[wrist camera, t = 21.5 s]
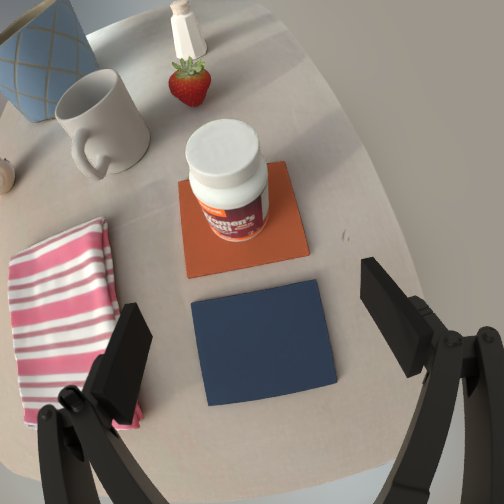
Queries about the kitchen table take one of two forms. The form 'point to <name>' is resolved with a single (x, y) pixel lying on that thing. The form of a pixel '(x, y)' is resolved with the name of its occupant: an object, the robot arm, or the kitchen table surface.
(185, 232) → the terracotta mat
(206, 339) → the slate blue mat
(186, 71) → the fruit
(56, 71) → the planter
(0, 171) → the garlic bulb
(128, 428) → the dish towel
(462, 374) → the robot arm
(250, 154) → the pill bottle
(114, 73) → the mug
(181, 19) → the pepper shaker
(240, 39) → the kitchen table surface
